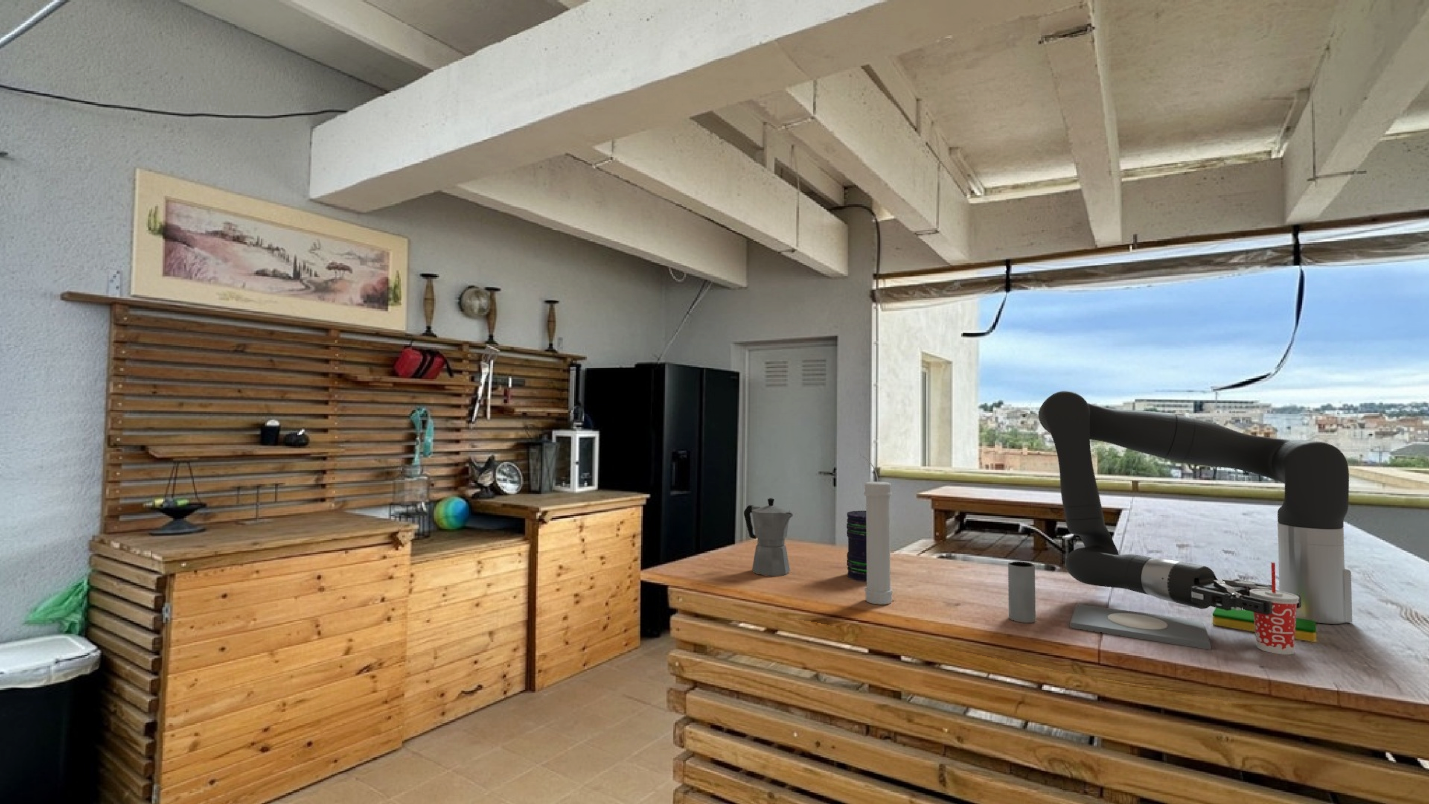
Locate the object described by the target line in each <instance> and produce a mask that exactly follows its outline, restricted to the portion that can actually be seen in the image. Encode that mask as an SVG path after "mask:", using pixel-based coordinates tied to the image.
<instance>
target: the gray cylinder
mask: <svg viewBox="0 0 1429 804" xmlns="http://www.w3.org/2000/svg"><path fill="white" fill-rule="evenodd" d="M1007 576H1008V577H1007V578H1008V579H1007V580H1008V581H1007V582H1008V583H1007V584H1008V589H1007V590H1008V594H1007V595H1008V618H1009V619H1010V620H1011V621H1013V620H1014V622H1016V623H1017V622H1018V623H1024V624H1025V623H1026V624H1029V623H1030V624H1031V623H1034V622H1036V619H1037V618H1036V616H1037V615H1036V565H1035V564H1034V563H1031V562H1027V561H1021V560H1020V561H1019V560H1018V561H1016V560H1015V561H1009V562H1008V563H1007Z"/></svg>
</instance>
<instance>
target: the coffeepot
mask: <svg viewBox="0 0 1429 804" xmlns="http://www.w3.org/2000/svg"><path fill="white" fill-rule="evenodd" d="M774 503H775V499H774V498H772V497H769V498H767V504H768V505H765V506H757V505H752V504H749V505H747V507H746V508H745V509H744V511H743V516H744V520H745V524H746V529H747V532H748V536H749V538H751V539H755V540H756V539H757V544H756V546H755V551H754V557H753V563H752V567H751V568H752V569H751V571H752V572H753V573H754V572H755V573H756V575H758V574H762V575H767V576H766V577H782V576H785V575H788V574H789V572H791V569H790V564H789V563H790V562H789V558H788V557H789V556H788V551H787V546H786V542H785V539H786V538H787V536H788V528H789V521H790V520H791V518H792V517H793V514H794V513H792V512H791V510H789V509H786V508H783V507H780V506H775V505H774ZM751 515H752V516H751ZM752 521H753V524H752ZM755 573H754V574H755ZM762 575H761V576H762ZM779 575H780V576H779ZM781 575H782V576H781Z"/></svg>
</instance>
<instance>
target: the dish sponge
mask: <svg viewBox="0 0 1429 804" xmlns="http://www.w3.org/2000/svg"><path fill="white" fill-rule="evenodd" d="M1212 625H1215V626H1219V627H1225V628H1231V629H1236V630H1242V629H1243V630H1244V631H1248V632H1252V633H1253V632H1254V633H1255V624H1254V614H1253V612H1252V611H1247V610H1243V609H1242V610H1236V609H1233V608H1231V610H1229V611H1226V610H1224V609H1220V608H1216V607H1214V610H1213V612H1212ZM1243 630H1242V631H1243ZM1295 638H1296V639H1295V640H1301V641H1305V642H1306V641H1308V642H1312V643H1313V642H1314V643H1315V642H1317V622H1315V621H1313V620H1306V619H1300V618H1296V627H1295Z"/></svg>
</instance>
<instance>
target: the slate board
mask: <svg viewBox="0 0 1429 804" xmlns="http://www.w3.org/2000/svg"><path fill="white" fill-rule="evenodd" d="M1069 627H1070V628H1069V629H1074V630H1080V629H1083V630H1082V631H1087V630H1088V632H1093V631H1095V632H1094V633H1100V632H1102V633H1101V634H1106V633H1107V635H1113V636H1119V635H1121V636H1120V637H1126V638H1132V639H1139V640H1146V641H1152V642H1159V643H1164V644H1170V645H1171V644H1173V645H1177V646H1185V647H1191V648H1196V647H1197V649H1203V650H1209V651H1210V650H1212V649H1211V647H1212V646H1211V641H1210V637H1209V634H1208V631H1207V628H1206V625H1205V622H1204V620H1198V619H1192V618H1191V619H1190V618H1184V617H1177V616H1176V617H1175V616H1170V615H1162V614H1155V613H1147V612H1141V611H1140V612H1139V611H1133V610H1132V611H1131V610H1127V609H1126V610H1125V609H1117V608H1110V607H1104V606H1097V605H1087V604H1082V603H1076V605H1075V607H1074V610H1073V614H1072V616H1071V620H1070V623H1069Z"/></svg>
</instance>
